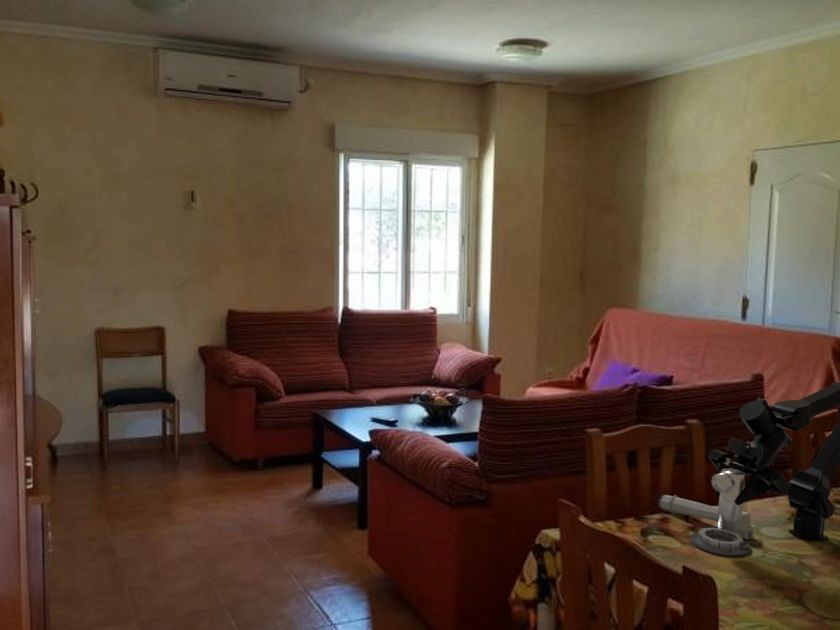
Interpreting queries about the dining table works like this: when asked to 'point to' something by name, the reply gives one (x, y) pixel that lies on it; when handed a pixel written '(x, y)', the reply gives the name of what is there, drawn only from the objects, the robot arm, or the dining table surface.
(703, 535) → the collar
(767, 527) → the dining table surface
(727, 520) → the elbow
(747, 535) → the grey pipe
